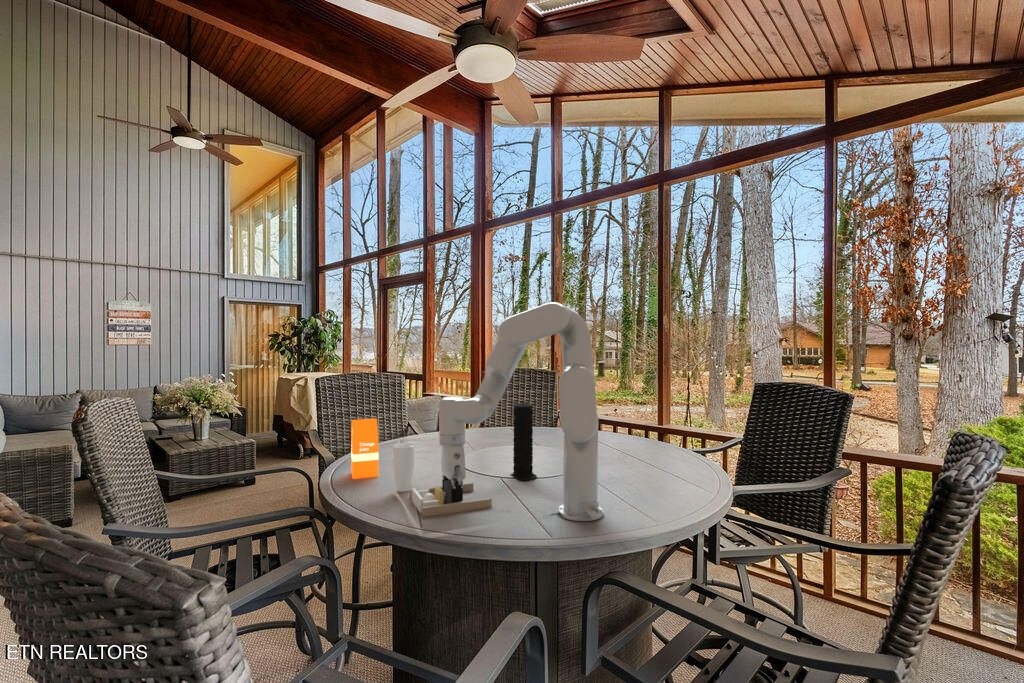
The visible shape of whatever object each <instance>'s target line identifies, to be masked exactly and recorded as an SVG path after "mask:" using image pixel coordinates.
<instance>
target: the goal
mask: <svg viewBox="0 0 1024 683" xmlns="http://www.w3.org/2000/svg"><path fill="white" fill-rule="evenodd" d="M416 489H417V488H415V487H412V499H411V502H412V504H413V505H414V506H415V508H416V509H417V511H418V512H419V513H420V514H422V507H428V506H436V505H438V500H433V501H425V502H423V497H424V495H425V494H427V493H429V489H427V490H419V491H417V490H416Z"/></svg>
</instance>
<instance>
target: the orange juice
mask: <svg viewBox="0 0 1024 683" xmlns="http://www.w3.org/2000/svg"><path fill="white" fill-rule="evenodd" d="M350 433H351V434H350V435H351V437H350V438H351V439H350V443H351V444H350V446H351V448H350V455H351V456H350V458H351V460H350V464H351V465H350V469H351V470H350V471H351V472H350V473H351V477H352V480H354V479H356V480H357V479H358V480H359V479H366V478H377V477H378V478H379V459H380V458H379V453H380V452H379V429H378V418H363V419H352V420H351V432H350Z"/></svg>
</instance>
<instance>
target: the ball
mask: <svg viewBox="0 0 1024 683" xmlns="http://www.w3.org/2000/svg"><path fill="white" fill-rule="evenodd" d="M433 500H435V496H434V495H433V494H432V493H427V494H425V495H424V497H423V502H425V501H433Z"/></svg>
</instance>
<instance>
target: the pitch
mask: <svg viewBox="0 0 1024 683" xmlns="http://www.w3.org/2000/svg"><path fill="white" fill-rule="evenodd" d="M439 487H440V488H441V489H442V485H441V486H439ZM415 489H416V490H417V491H419V490H427V489H429V493H432V494H433V495H434V496H435V486H433V487H425V488H419V489H418V488H415ZM473 491H474V482H467V483H463V493H464V492H465V493H466V492H473ZM409 499H411V500H412V490H410V491H409ZM492 504H493V500H492V498H491V497H488V498H481V499H473V500H467V501H461V502H458V503H450V504H446V503H445V504H444V503H443V505H436V506H428V507H422V513H421V517H423V518H424V517H430V516H431V517H432V516H437V515H445V514H452V513H460V512H466V511H473V510H479V509H488V508H492V507H493V505H492Z"/></svg>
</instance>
